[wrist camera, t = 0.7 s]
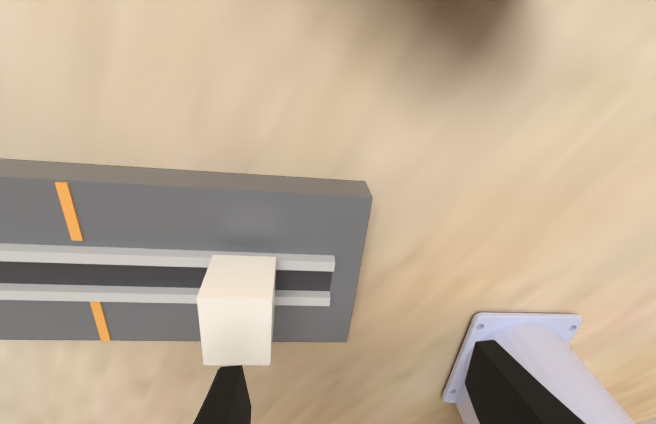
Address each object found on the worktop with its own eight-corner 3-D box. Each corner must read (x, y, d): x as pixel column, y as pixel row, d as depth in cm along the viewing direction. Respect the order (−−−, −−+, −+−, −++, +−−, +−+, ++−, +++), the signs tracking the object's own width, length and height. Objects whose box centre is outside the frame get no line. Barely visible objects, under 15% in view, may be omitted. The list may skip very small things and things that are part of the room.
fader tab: (275, 306, 19) (270, 365, 16) (220, 305, 19) (203, 365, 16) (277, 247, 17) (272, 299, 14) (216, 245, 17) (196, 298, 14)
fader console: (343, 318, 23) (348, 350, 21) (17, 313, 21) (-17, 348, 19) (365, 181, 19) (374, 203, 16) (-50, 155, 16) (-108, 176, 14)
